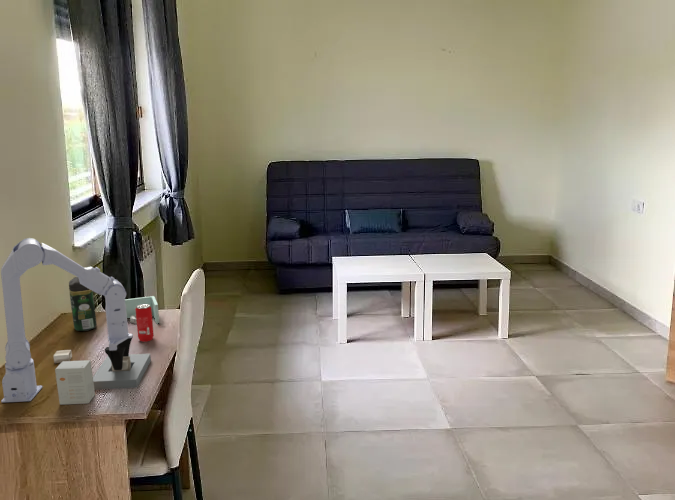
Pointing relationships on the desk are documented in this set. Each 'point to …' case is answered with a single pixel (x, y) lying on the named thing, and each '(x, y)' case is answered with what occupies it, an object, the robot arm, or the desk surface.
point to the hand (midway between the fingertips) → (121, 364)
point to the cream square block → (125, 364)
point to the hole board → (121, 373)
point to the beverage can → (144, 322)
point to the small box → (75, 382)
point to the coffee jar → (82, 306)
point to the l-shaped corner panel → (135, 302)
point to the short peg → (62, 356)
